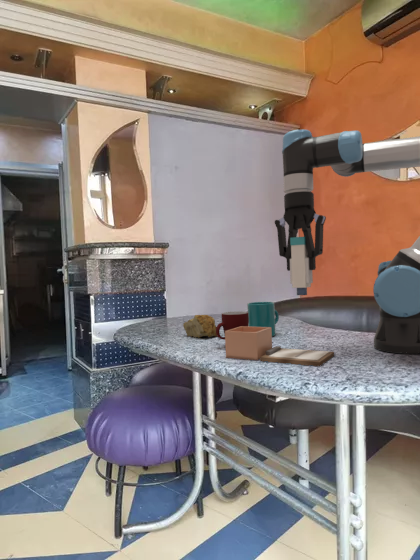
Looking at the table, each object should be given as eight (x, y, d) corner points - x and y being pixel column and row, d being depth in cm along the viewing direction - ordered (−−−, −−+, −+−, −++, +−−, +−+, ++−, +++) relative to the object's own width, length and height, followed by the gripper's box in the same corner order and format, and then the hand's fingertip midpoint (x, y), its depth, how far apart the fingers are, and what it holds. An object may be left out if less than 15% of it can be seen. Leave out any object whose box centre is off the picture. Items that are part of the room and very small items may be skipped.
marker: (311, 294, 107) (309, 237, 107) (306, 295, 104) (304, 236, 104) (298, 294, 110) (296, 238, 109) (292, 295, 107) (290, 237, 106)
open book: (334, 355, 104) (333, 347, 104) (319, 366, 94) (319, 357, 94) (279, 351, 112) (278, 344, 112) (260, 361, 102) (259, 353, 102)
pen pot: (272, 353, 111) (271, 327, 110) (257, 360, 103) (256, 332, 103) (242, 350, 116) (241, 326, 115) (225, 357, 108) (224, 331, 108)
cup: (287, 334, 139) (286, 301, 138) (260, 339, 132) (258, 304, 132) (270, 331, 146) (268, 300, 146) (243, 336, 140) (241, 303, 140)
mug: (226, 351, 116) (225, 316, 116) (210, 347, 123) (209, 314, 122) (255, 345, 122) (253, 312, 121) (238, 342, 128) (237, 310, 128)
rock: (192, 350, 144) (179, 325, 146) (209, 341, 150) (196, 317, 151) (209, 339, 135) (195, 312, 137) (227, 330, 141) (213, 305, 143)
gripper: (335, 190, 104) (337, 282, 105) (276, 198, 114) (278, 282, 115) (324, 186, 98) (327, 283, 99) (263, 195, 108) (266, 284, 109)
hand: (301, 283), depth 107 cm, fingers closed on marker, 4 cm apart
